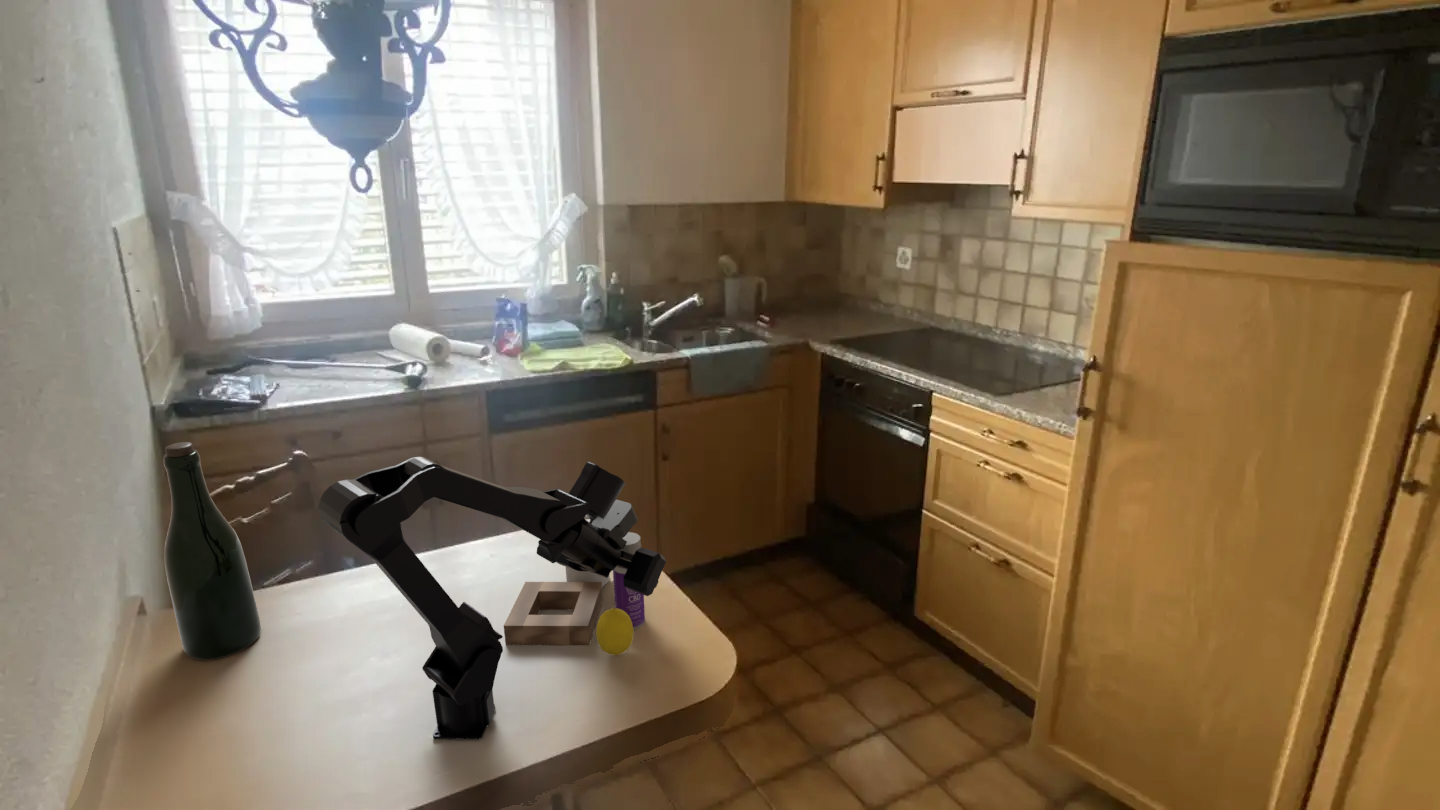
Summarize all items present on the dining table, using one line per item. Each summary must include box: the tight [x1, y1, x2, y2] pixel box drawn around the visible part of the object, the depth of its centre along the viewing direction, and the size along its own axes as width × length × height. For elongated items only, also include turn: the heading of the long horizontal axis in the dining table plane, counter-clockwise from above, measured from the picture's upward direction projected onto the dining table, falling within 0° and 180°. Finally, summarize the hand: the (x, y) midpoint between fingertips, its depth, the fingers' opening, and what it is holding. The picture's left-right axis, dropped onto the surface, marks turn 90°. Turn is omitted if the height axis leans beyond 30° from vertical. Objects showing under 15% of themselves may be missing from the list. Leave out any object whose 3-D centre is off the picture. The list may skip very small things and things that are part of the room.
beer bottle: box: [162, 441, 262, 661], centre depth 118 cm, size 10×10×33 cm
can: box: [565, 515, 610, 588], centre depth 137 cm, size 8×8×12 cm
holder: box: [503, 581, 604, 647], centre depth 127 cm, size 13×13×4 cm
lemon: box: [595, 607, 635, 657], centre depth 118 cm, size 6×6×8 cm
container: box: [612, 531, 646, 630], centre depth 125 cm, size 5×5×15 cm
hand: (633, 576), depth 126 cm, fingers open, 9 cm apart
